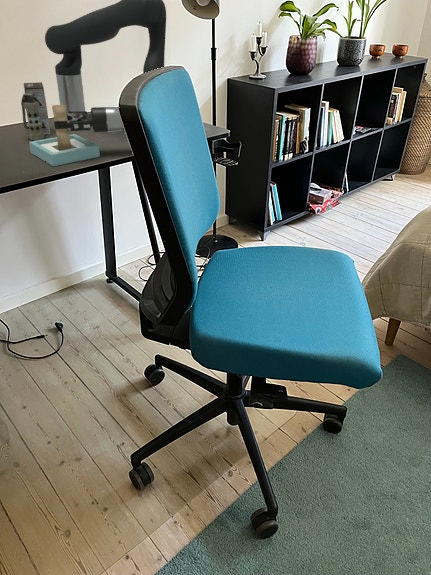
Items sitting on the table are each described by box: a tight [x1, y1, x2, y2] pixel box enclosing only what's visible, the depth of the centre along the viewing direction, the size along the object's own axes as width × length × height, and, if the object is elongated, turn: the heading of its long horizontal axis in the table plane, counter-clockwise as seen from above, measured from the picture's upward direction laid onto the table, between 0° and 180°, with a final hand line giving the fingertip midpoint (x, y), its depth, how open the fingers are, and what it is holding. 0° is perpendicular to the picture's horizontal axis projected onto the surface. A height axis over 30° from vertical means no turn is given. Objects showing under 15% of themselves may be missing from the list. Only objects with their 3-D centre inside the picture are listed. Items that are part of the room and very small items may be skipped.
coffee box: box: [23, 81, 52, 136], centre depth 167 cm, size 9×6×16 cm
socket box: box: [28, 133, 101, 167], centre depth 150 cm, size 16×16×4 cm
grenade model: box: [20, 92, 46, 141], centre depth 161 cm, size 6×7×15 cm
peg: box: [51, 104, 71, 151], centre depth 147 cm, size 4×4×15 cm
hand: (54, 121), depth 145 cm, fingers open, 8 cm apart
